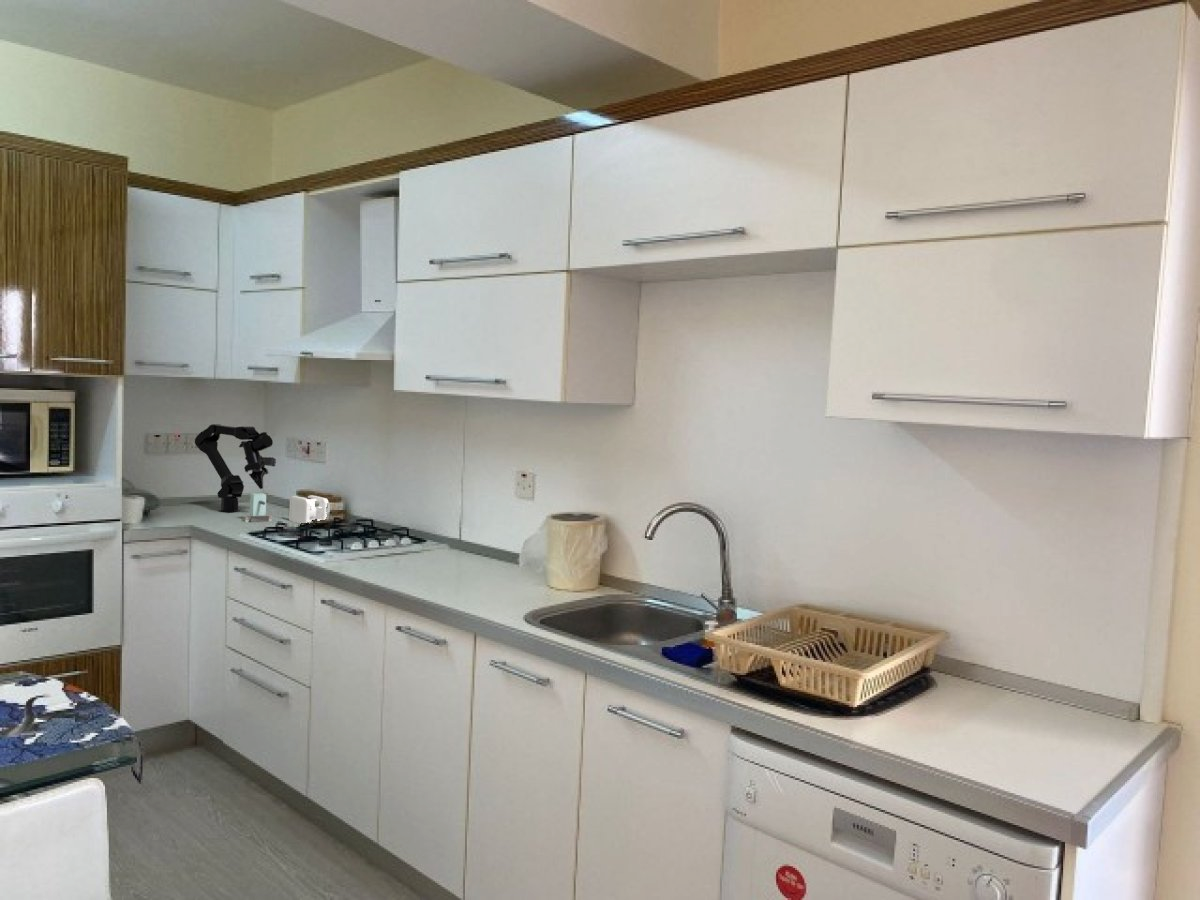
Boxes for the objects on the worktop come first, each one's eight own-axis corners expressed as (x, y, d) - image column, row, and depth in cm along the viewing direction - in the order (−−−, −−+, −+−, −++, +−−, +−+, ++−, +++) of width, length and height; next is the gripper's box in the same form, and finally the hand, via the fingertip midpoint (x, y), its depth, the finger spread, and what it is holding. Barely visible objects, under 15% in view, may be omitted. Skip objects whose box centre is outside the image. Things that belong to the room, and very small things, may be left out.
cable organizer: (287, 523, 364) (288, 495, 363) (310, 521, 372) (311, 494, 371) (305, 528, 354) (306, 499, 353) (329, 526, 362) (330, 498, 361)
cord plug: (248, 520, 357) (249, 493, 357) (263, 519, 361) (264, 493, 360) (255, 523, 350) (256, 496, 350) (270, 522, 354) (271, 495, 353)
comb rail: (232, 520, 363) (233, 511, 363) (262, 518, 371) (262, 510, 370) (245, 525, 351) (245, 517, 350) (275, 524, 358) (276, 515, 358)
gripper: (267, 445, 372) (276, 480, 370) (275, 452, 390) (284, 486, 388) (240, 452, 370) (249, 488, 368) (250, 459, 388) (258, 493, 386)
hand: (261, 488), depth 378 cm, fingers closed
